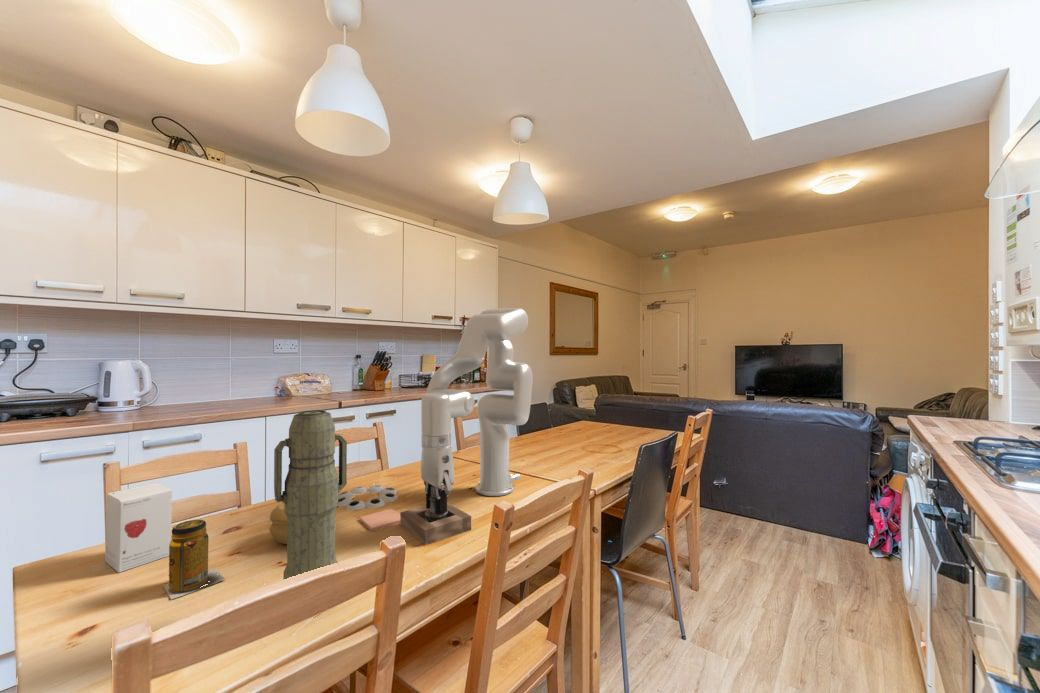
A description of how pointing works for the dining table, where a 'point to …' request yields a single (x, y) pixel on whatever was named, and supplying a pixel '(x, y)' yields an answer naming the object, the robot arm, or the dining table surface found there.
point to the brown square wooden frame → (435, 524)
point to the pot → (279, 524)
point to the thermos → (310, 490)
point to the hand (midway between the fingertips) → (436, 509)
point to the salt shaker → (431, 513)
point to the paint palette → (373, 489)
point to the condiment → (189, 560)
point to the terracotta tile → (380, 519)
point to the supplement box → (138, 526)
